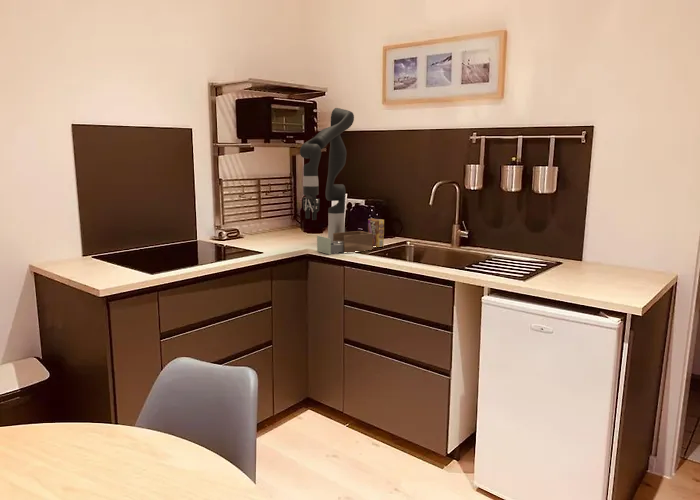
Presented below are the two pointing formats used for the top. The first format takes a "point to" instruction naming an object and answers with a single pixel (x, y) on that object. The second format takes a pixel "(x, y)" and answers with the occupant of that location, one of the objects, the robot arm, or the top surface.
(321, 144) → the robot arm
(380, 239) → the candy box
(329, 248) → the grey boxy piece
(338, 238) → the sleeve
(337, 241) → the steel tin
